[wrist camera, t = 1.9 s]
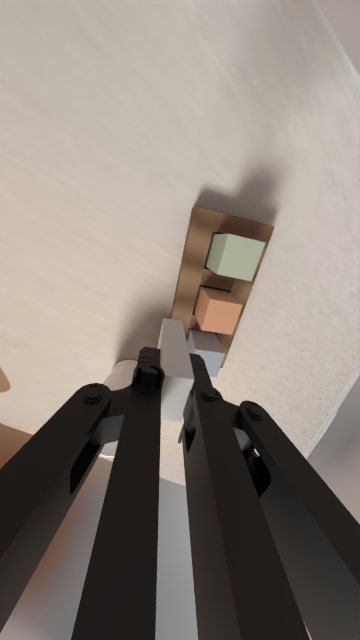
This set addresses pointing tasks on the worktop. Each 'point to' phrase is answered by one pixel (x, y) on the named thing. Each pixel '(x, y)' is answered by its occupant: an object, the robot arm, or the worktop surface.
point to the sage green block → (234, 256)
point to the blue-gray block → (206, 349)
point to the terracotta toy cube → (217, 310)
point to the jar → (116, 381)
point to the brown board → (197, 274)
